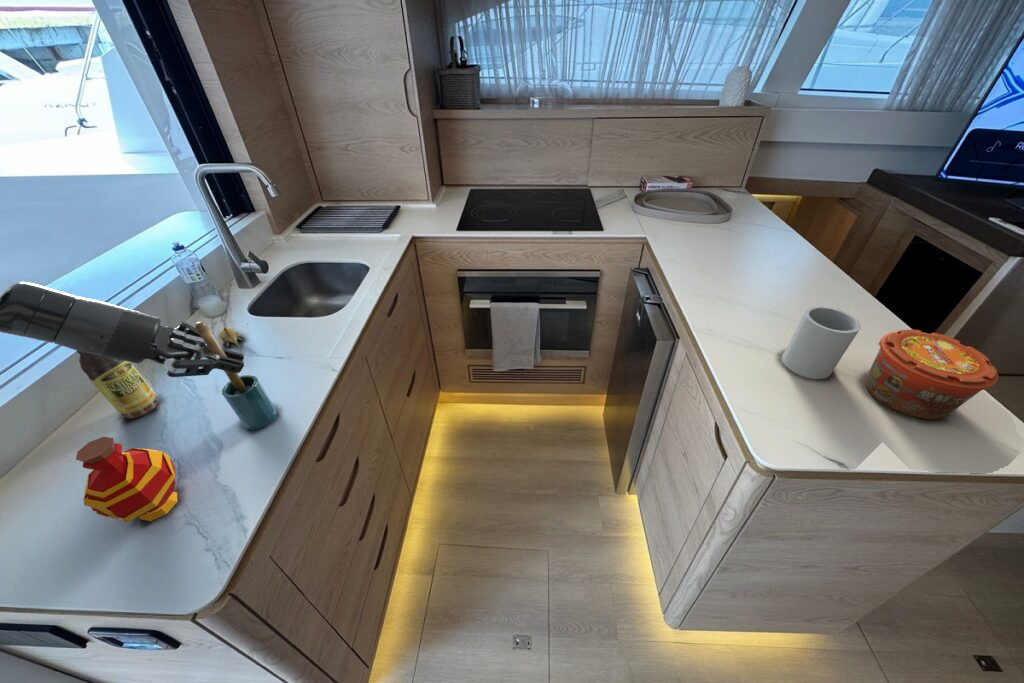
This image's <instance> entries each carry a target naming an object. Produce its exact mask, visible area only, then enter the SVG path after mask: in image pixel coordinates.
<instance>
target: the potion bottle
mask: <svg viewBox="0 0 1024 683" xmlns="http://www.w3.org/2000/svg"><path fill="white" fill-rule="evenodd" d="M75 460H76V461H80V462H82V468H83V469H86V470H91V471H90V472H89V473H88V474H87V478H86V485H85V490H84V495H83V499H82V500H83V505H84V506H85V507H88V508H90V509H91V510H92V511H93V512H95V513H96V514H97V515H99V516H102V517H105V518H109V519H112V520H115V521H120V522H123V523H129V522H130V521H132V520H134V519H136V518H137V519H138V518H139V519H140V520H143V521H147V522H152V521H155V520H156V519H159V518H161V517H164V516H165V515H167V514H168V513H169V512H170V511H171V510H172V509H173V508H174V506H175V505H176V504H177V503H178V491H177V492H176V491H175V487H176V466H175V464H174V462H173V459H172V458H170V454H168V453H167V452H164V451H161V450H156V449H150V448H138V447H132V448H129V449H126V450H123V444H122V443H117V442H115V440H114V437H110V436H102V437H99V438H97V439H93V440H91V441H88V442H87V443H86V444H85V445H84V446H82V447H81V448H79V450H78V451H77V452H76V457H75Z"/></svg>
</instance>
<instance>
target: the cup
mask: <svg viewBox="0 0 1024 683" xmlns="http://www.w3.org/2000/svg"><path fill="white" fill-rule="evenodd" d="M861 328H862V324H861V323H860V321H859V319H857V318H856V317H855V316H854V315H852V314H850V313H849V312H846V311H844V310H841V309H838V308H834V307H830V306H824V305H816V306H810V307H808V308H806V310H805V311H804V313H803V314H802V317H801V319H800V321H799V322H798V325H797V327H796V329H795V331H794V332H793V334H792V336H791V338H790V340H789V342H788V343H787V346H786V348H785V350H784V351H783V353H782V356H781V362H782V364H783V365H784V366H785V367H786V368H787V369H788V370H790V371H791V372H792V373H793V374H796V375H798V376H801V377H803V378H807V379H810V380H811V379H812V380H824V379H828V378H829V377H831V375H832V373H833V372H834V370H835V369H836V367H837V365H838V364H839V363H840V362H841V360H842V358H843V356H844V355H845V353H846V352H847V350H848V348H849V347H850V345H852V343H853V341H854V340H855V337H856V336H857V335H858V334H859V332H860V330H861Z"/></svg>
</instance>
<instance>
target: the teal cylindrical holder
mask: <svg viewBox="0 0 1024 683" xmlns="http://www.w3.org/2000/svg"><path fill="white" fill-rule="evenodd" d="M239 377H240V378H241V380H242V381H243V383H244V385H245V386H246V385H249V386H251V388H250V389H248V390H247V391H245V392H243V393H240V394H237V395H234V392H235V391H236V389H235V387H234V386H233V384H232V383H231V381H230V380H229V381H228V382H226V383H225V385H224V386H223V387H222V389H221V395H222V397H223V398H224V400H225V401H226V402H227V404H228V405H229V406H230V408H231V409H232V411H233V412H234V414H235V415H236V416H237V418H238V419H239V421H240V422H241V423H242V425H243V426H244V428H245V429H247V430H251V431H257V430H260V429H263V428H266V427H267V426H269V425H270V424H272V423H273V421H275V419H276V417H277V415H278V411H277V409H276V408H275V406H274V404H273V402H272V400H271V399H270V397H269V395H268V394H267V392H266V390H265V389H264V386H262V383H261V382H260V380H259V378H258V377H257V376H255V375H252V374H243V375H239Z"/></svg>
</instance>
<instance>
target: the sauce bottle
mask: <svg viewBox="0 0 1024 683" xmlns="http://www.w3.org/2000/svg"><path fill="white" fill-rule="evenodd" d="M76 353H77V354H78V355H79V359H78V362H79V365H80V368H81V370H82V372H83V373H85V374H86V376H87V378H88V379H89V381H90V382H91V383H92V384H93V386H95V388H97V390H98V391H99V392H100V393H101V394H102V396H103V397H104V398H105V399H106V401H108V402H109V404H110V405H111V407H113V408H114V409H115V410H116V412H117V413H119V414H120V415H121V416H122V417H124V418H126V419H128V420H129V419H136V418H140V417H142V416H145V415H146V414H149V413H150V412H152V411H153V410H154V409H155V408H156V406H157V405H158V404H159V400H158V397H157V396H156V393H155V392H154V391H153V389H152V388H151V387H150V385H149V384H148V383H147V382H146V380H145V379H144V377H143V376H142V375H141V374H140V372H139V371H138V370H137V368H136V367H135V366H134V365H133V362H128V361H123V360H119V359H114V358H109V357H105V356H100V355H96V354H91V353H86V352H82V351H78V350H76Z"/></svg>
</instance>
